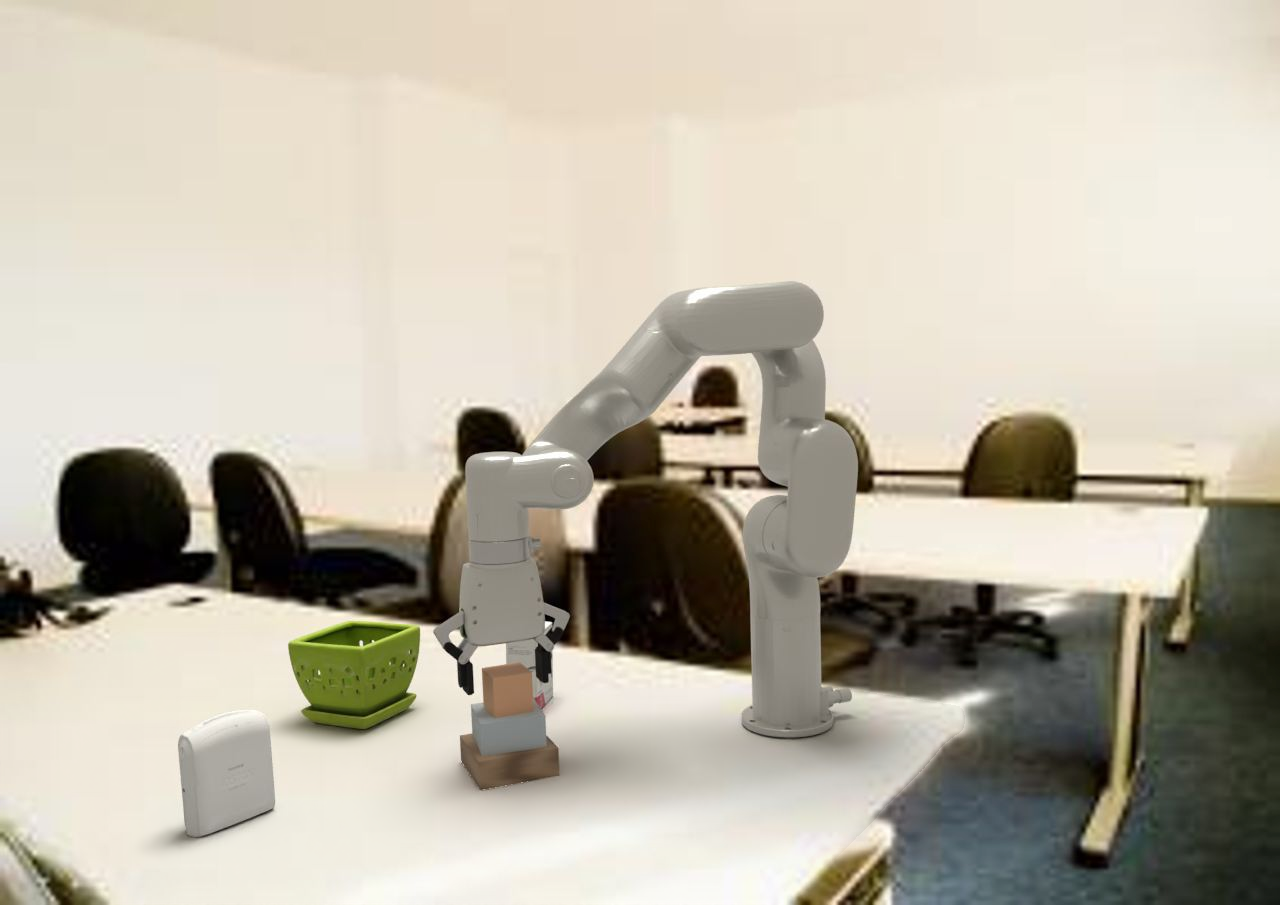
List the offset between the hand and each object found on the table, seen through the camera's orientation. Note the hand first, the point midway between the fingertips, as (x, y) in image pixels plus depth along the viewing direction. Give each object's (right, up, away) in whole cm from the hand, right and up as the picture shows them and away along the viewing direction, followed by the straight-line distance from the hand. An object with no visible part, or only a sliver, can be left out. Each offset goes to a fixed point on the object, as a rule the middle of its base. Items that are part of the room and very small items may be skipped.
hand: (505, 686), depth 134 cm
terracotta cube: (0, -3, 0) cm, 3 cm away
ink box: (+1, -9, +25) cm, 26 cm away
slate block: (0, -7, 0) cm, 7 cm away
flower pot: (-24, -10, +22) cm, 34 cm away
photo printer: (-30, -13, -12) cm, 35 cm away
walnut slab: (0, -11, +1) cm, 11 cm away
